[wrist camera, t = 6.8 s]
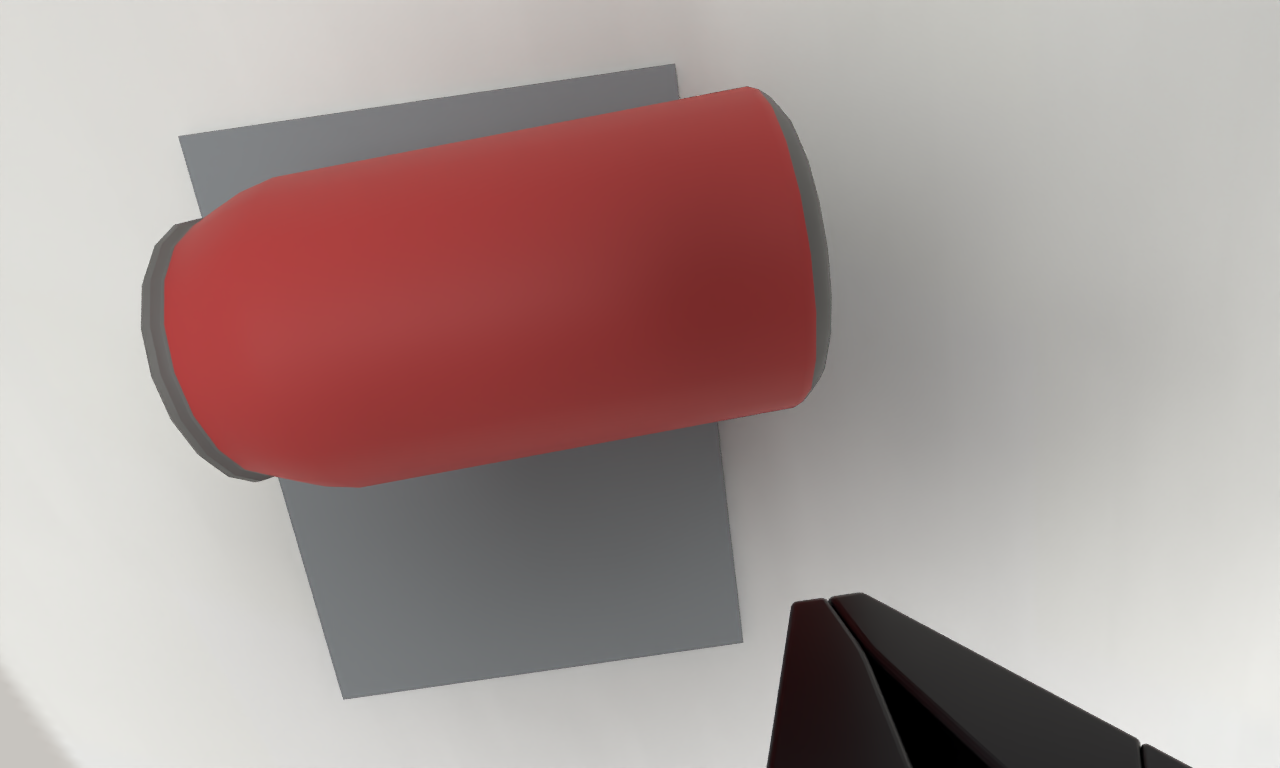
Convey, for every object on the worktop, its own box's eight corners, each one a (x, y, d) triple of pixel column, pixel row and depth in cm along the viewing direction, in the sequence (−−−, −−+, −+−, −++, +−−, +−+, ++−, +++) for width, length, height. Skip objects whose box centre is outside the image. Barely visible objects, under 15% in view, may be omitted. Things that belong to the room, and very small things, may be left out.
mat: (674, 66, 17) (674, 63, 17) (741, 636, 21) (743, 642, 21) (185, 137, 17) (178, 136, 17) (347, 692, 21) (343, 699, 21)
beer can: (872, 384, 11) (133, 521, 11) (795, 412, 18) (327, 499, 18) (786, 1, 12) (94, 135, 12) (743, 164, 18) (294, 249, 19)
